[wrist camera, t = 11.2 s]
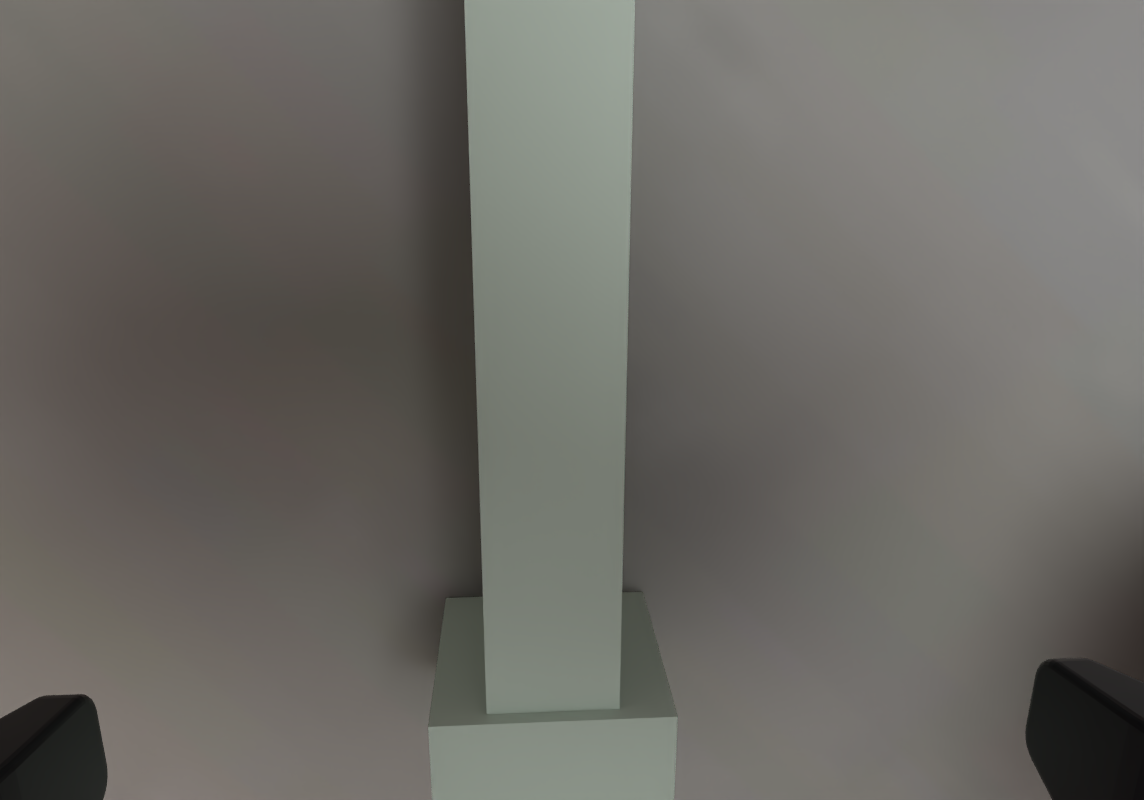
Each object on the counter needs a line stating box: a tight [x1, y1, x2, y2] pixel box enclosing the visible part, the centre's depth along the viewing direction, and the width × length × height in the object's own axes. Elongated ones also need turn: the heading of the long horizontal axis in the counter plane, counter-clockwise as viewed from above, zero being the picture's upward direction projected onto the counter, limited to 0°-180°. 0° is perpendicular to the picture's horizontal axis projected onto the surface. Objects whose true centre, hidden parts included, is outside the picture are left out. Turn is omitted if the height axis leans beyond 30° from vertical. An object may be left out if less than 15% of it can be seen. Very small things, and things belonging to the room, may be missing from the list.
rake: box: [428, 0, 678, 800], centre depth 17 cm, size 23×12×5 cm, turn 0°
